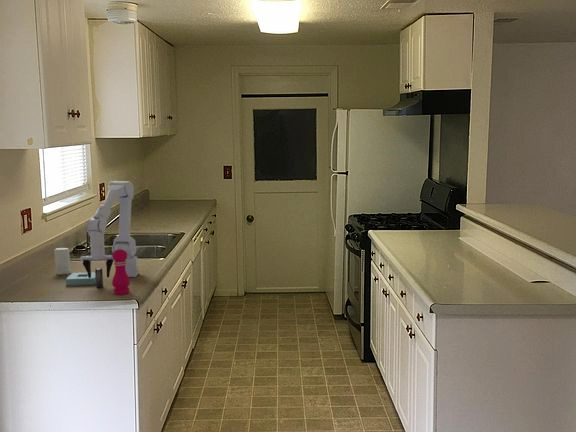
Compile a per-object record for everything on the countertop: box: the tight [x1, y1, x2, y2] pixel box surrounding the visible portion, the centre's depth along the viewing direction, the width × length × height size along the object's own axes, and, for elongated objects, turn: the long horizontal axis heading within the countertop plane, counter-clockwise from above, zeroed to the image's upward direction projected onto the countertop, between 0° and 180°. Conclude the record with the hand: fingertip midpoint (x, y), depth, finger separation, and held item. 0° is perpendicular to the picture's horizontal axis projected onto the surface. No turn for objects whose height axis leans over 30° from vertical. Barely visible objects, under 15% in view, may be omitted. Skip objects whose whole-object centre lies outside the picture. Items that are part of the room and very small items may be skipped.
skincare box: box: [53, 247, 72, 275], centre depth 296 cm, size 6×4×12 cm
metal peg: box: [94, 267, 104, 289], centre depth 271 cm, size 3×3×8 cm
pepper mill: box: [111, 246, 131, 296], centre depth 261 cm, size 7×7×20 cm
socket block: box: [65, 271, 96, 287], centre depth 281 cm, size 12×12×3 cm
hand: (99, 277), depth 271 cm, fingers open, 7 cm apart
